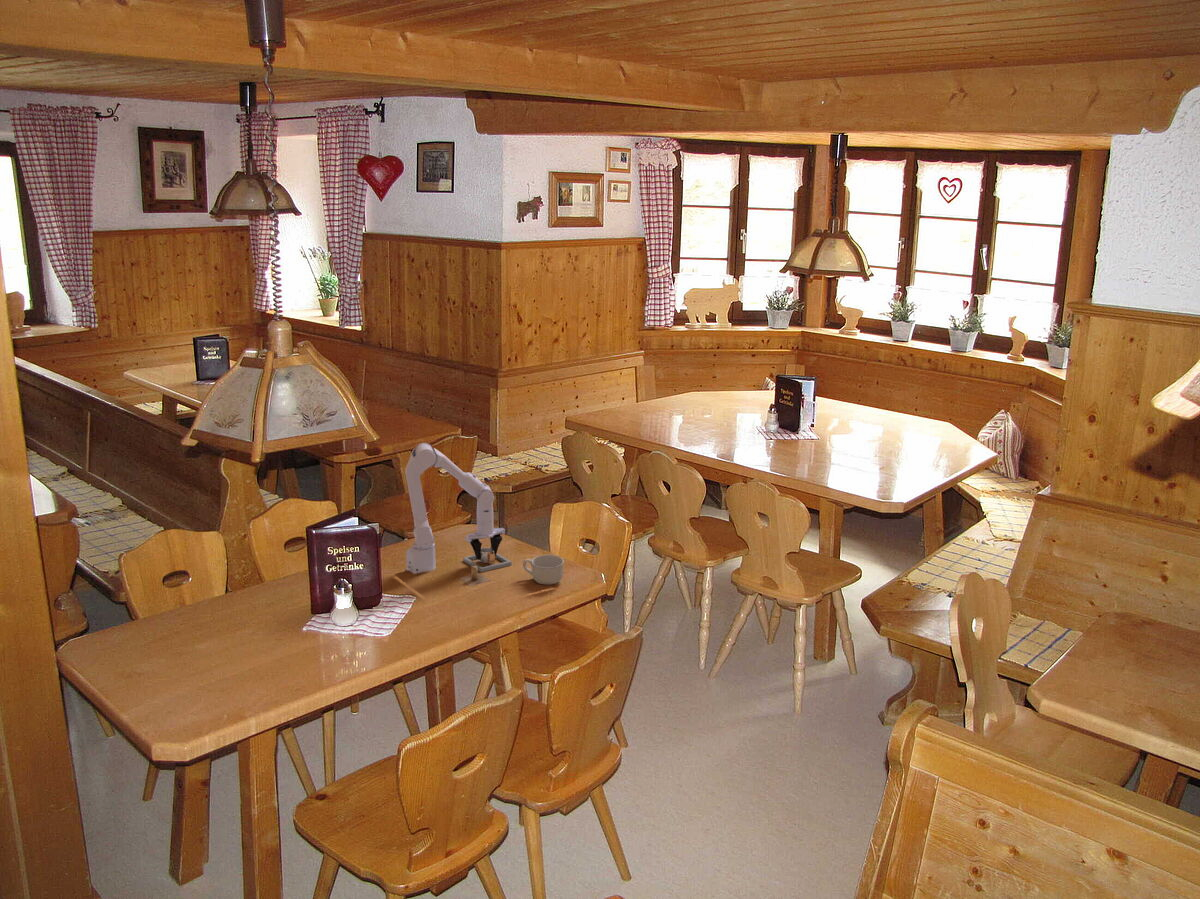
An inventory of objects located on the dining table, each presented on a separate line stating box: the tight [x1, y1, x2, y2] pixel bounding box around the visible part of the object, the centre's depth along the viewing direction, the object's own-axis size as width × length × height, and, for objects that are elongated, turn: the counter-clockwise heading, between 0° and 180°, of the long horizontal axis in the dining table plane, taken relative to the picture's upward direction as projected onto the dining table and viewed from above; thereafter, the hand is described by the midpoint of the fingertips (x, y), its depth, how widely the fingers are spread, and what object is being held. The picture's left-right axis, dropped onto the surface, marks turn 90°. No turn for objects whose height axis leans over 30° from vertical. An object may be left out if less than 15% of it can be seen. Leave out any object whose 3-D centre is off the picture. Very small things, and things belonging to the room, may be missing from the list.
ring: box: [477, 546, 496, 565], centre depth 345 cm, size 6×7×4 cm
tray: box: [462, 552, 513, 573], centre depth 345 cm, size 12×13×2 cm
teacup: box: [522, 554, 565, 586], centre depth 330 cm, size 14×11×8 cm
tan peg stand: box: [458, 566, 492, 587], centre depth 330 cm, size 8×8×5 cm
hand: (486, 557), depth 346 cm, fingers closed on ring, 6 cm apart
